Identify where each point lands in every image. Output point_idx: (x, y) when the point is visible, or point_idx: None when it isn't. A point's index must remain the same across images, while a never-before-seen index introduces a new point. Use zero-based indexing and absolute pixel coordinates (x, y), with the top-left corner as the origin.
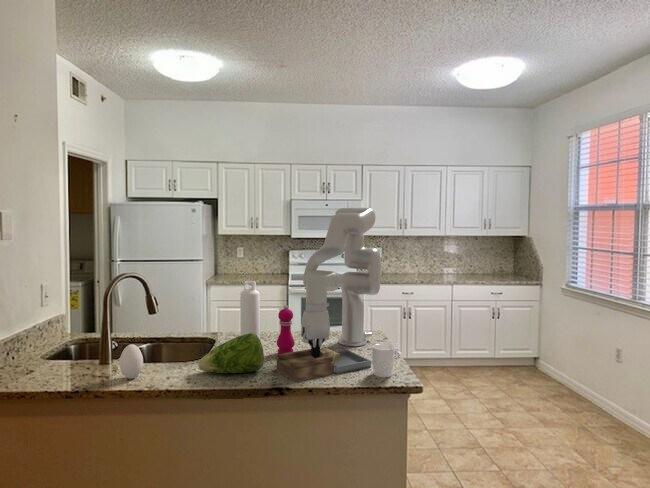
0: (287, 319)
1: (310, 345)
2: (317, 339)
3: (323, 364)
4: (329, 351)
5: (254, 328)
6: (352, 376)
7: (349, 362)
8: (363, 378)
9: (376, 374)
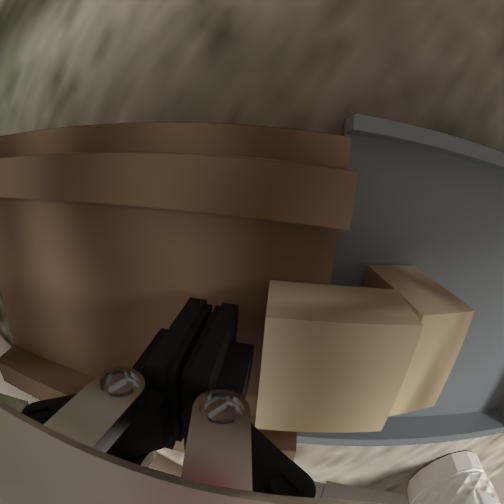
0: None
1: (107, 387)
2: (206, 477)
3: None
4: (344, 425)
5: None
6: (337, 456)
7: (490, 334)
8: (353, 480)
9: (409, 486)
